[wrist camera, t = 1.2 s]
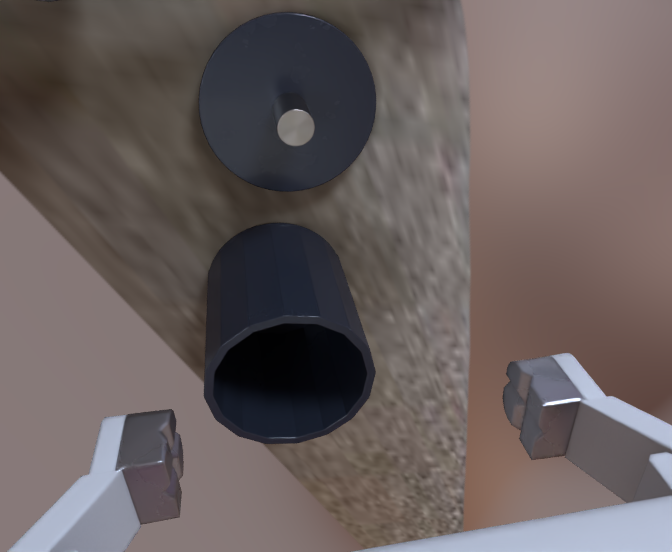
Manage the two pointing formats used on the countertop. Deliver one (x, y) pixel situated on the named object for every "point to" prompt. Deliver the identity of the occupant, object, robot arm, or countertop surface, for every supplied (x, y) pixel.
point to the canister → (283, 337)
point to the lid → (287, 101)
